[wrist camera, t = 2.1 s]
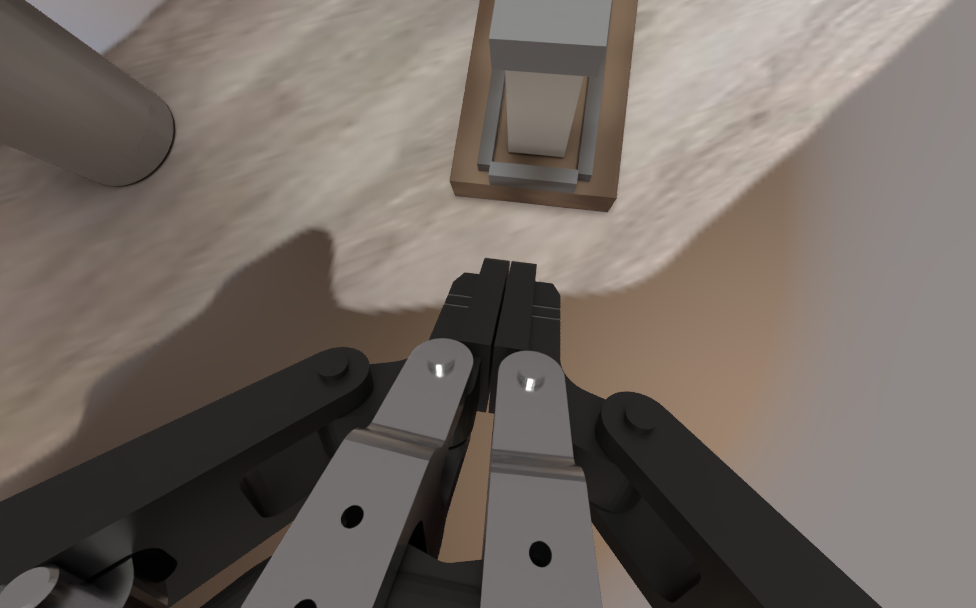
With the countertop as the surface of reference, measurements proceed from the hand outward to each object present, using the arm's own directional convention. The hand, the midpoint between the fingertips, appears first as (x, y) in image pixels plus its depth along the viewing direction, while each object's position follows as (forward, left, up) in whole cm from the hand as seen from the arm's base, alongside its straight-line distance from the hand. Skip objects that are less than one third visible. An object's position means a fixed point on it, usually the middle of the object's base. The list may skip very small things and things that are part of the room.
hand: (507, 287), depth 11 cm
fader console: (0, +22, -17) cm, 28 cm away
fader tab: (0, +14, -14) cm, 20 cm away
